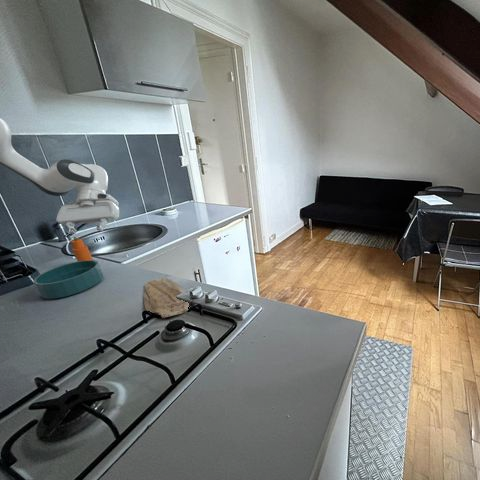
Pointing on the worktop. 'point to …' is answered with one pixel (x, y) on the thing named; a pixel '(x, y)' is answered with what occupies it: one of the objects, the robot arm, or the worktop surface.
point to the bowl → (68, 279)
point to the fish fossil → (164, 298)
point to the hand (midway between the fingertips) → (86, 231)
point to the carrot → (80, 250)
